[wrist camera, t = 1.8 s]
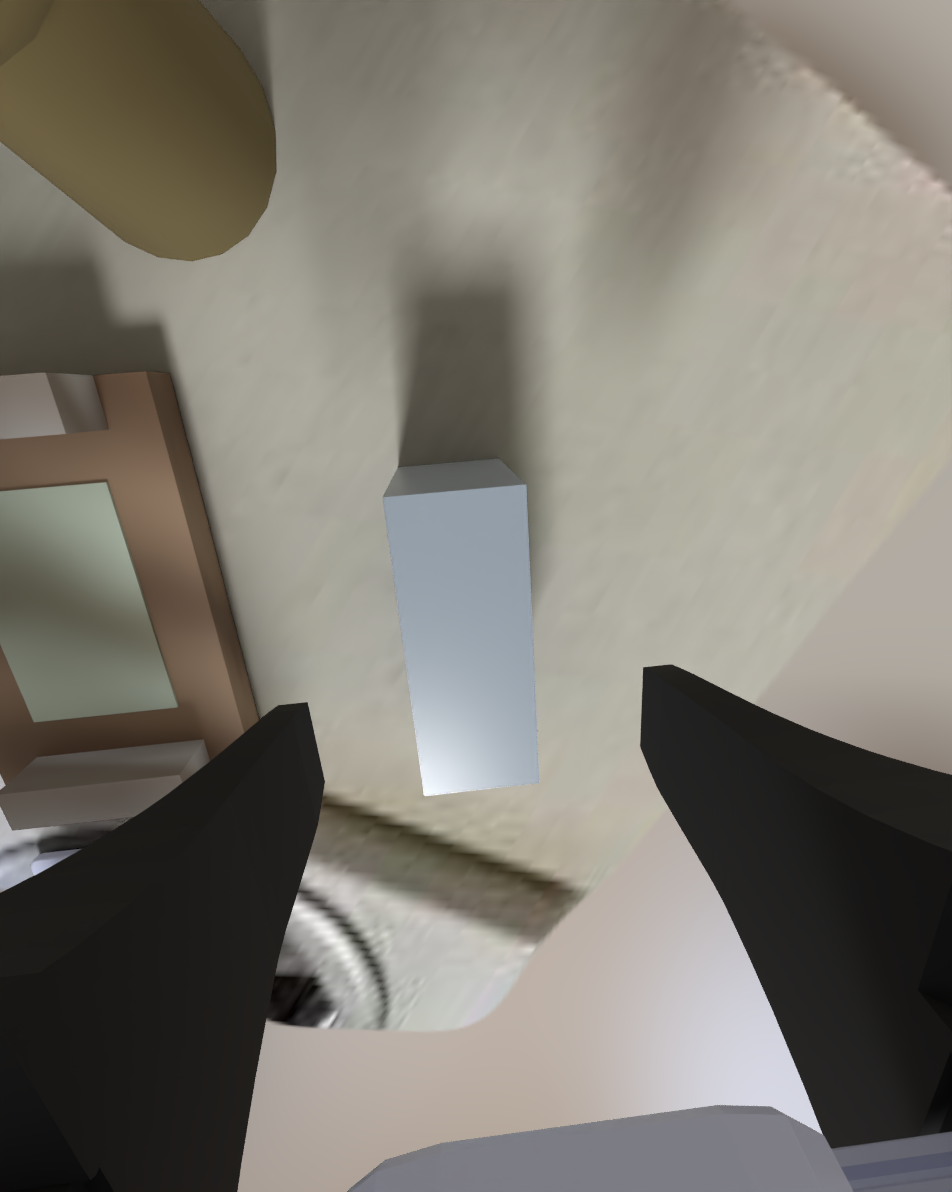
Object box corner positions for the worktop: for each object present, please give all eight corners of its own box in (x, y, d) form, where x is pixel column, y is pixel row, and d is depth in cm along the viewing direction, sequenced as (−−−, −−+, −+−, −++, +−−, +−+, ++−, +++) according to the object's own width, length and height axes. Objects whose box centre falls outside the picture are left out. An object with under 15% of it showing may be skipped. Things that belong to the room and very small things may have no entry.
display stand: (265, 744, 22) (235, 805, 19) (37, 768, 21) (-34, 835, 18) (169, 373, 17) (106, 367, 14) (-128, 396, 17) (-266, 396, 13)
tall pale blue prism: (512, 684, 22) (539, 783, 16) (426, 693, 22) (424, 796, 16) (498, 458, 19) (526, 484, 13) (398, 466, 19) (382, 497, 13)
